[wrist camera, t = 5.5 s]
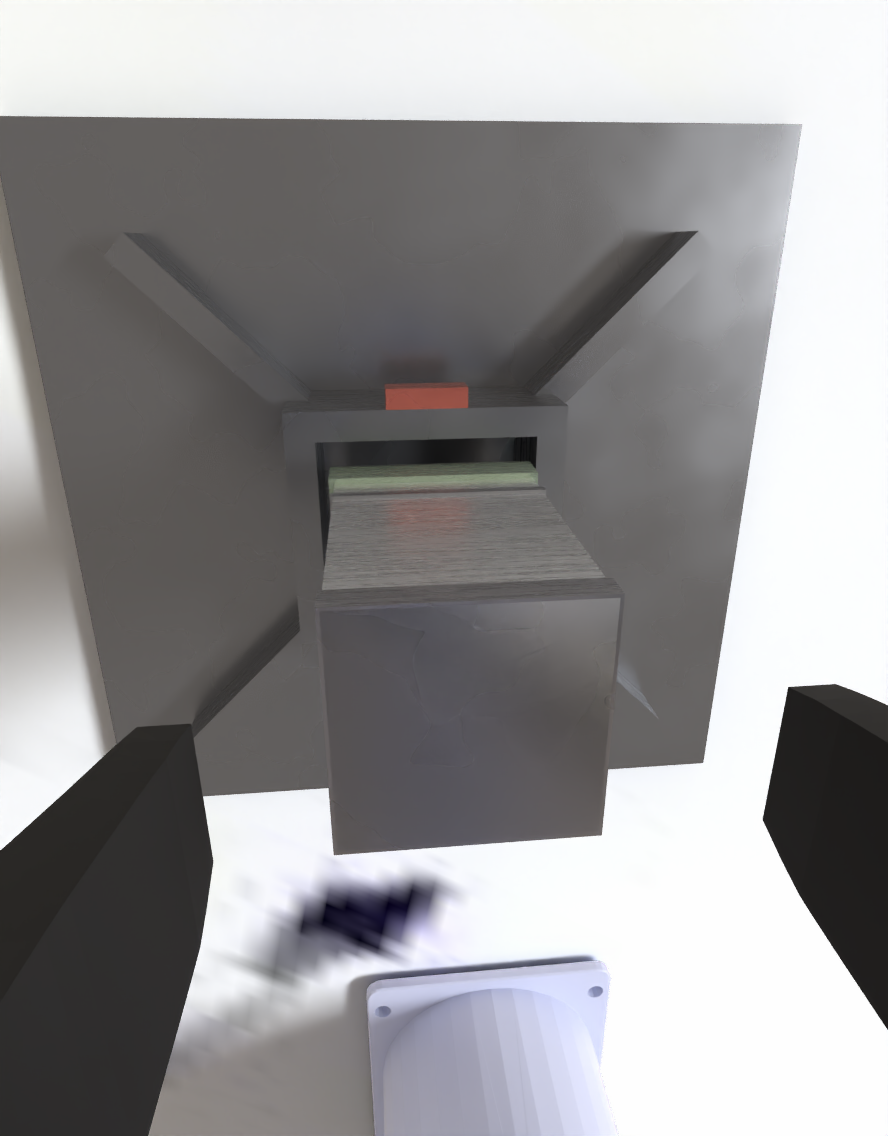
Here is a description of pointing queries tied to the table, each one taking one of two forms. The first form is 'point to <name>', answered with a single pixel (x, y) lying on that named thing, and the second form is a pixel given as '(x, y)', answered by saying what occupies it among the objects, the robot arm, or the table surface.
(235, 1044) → the table surface
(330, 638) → the grey rectangular block
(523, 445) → the stand base
